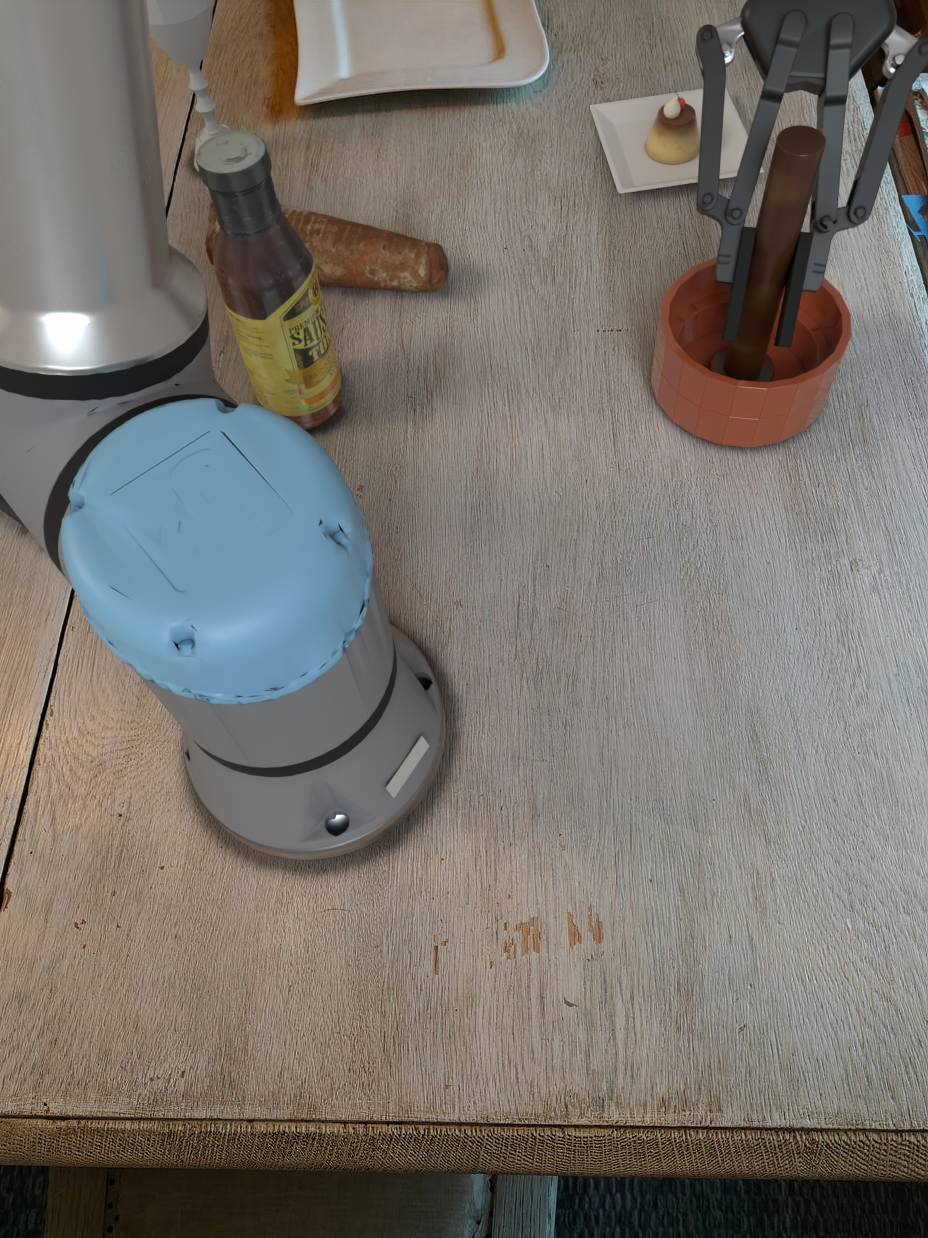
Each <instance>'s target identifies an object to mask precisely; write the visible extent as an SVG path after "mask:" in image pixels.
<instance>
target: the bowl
mask: <svg viewBox="0 0 928 1238" xmlns="http://www.w3.org/2000/svg"><path fill="white" fill-rule="evenodd" d="M716 261H717V257H716V256H715V257H713V258H710V259H708V260H706V261H703V262H701V263H698V264H695V265H693V266H691V267H690V268H688V269H687V270H686V271H684V272H683V273H682V274H681V275H680V276H679V277H677V278H676V279H675V280H673V282H672V283H670V286H669V287H668V290H667V291H666V292H665V294H664V296H663V298H662V300H661V302H660V308H659V316H658V322H657V328H656V335H655V342H654V349H653V356H652V362H651V372H650V384H651V387H652V391H653V394H654V397H655V400H656V402H657V404H658V405H659V407H660V408H661V409H662V410H663V412H664V413H665V414H666V415H667V416H668V418H669V419H670V420H671V421H672V422H673V423H675V424H676V425H678V426H679V427H681V428H682V429H684V430H685V431H687V432H688V433H690V434H691V435H692V436H694V437H697V438H700V439H703V440H707V441H709V442H712V443H715V444H718V445H721V446H729V447H730V446H731V447H741V448H754V447H761V446H766V445H767V446H768V445H773V444H774V445H775V444H779V443H782V442H784V441H786V440H788V439H790V438H792V437H794V436H796V435H798V434H800V433H803V432H804V431H805V430H806V429H807V428H808V427H809V426H810V425H811V424H812V423H813V422H814V421H815V420H816V419H818V417H819V416H820V415H821V413H822V411H823V409H824V407H825V404H826V403H827V400H828V397H829V395H830V393H831V390H832V388H833V385H834V382H835V380H836V378H837V374H838V372H839V370H840V367H841V364H842V362H843V359H844V357H845V354H846V352H847V349H848V347H849V343H850V341H851V340H852V339H851V338H852V315H851V312H850V309H849V308H848V305H847V303H846V301H845V299H844V298H843V295H842V294H841V292H840V291H839V290H838V289H837V287H835V286H834V285H833V284H832V283H831V282H830V281H829V280H828V279H827V278H826V277H824V280H823V283H822V285H821V287H820V288H819V290H818V291H817V292H805V291H802V295H801V300H800V305H799V310H798V315H797V320H796V325H795V330H794V335H793V340H792V345H791V347H777V346H774V342H775V337H776V332H777V327H778V322H779V316H780V311H781V306H782V301H783V296H784V293H783V296H782V300H781V303H780V307H779V310H778V314H777V317H776V321H775V324H774V328H773V331H772V335H771V338H770V342H769V345H768V349H767V352H766V354H767V355H768V356H769V357H770V358H771V360H772V361H773V364H774V368H775V372H774V376H773V380H772V382H758V381H745V380H737V379H734V378H730V377H727V376H724V375H721V374H718V373H715V372H712V371H710V370H709V368H710V363H711V360H712V358H713V356H714V355H715V354H716V353H717V352H718V351H719V350H721V349H722V348H725V347H727V346H728V343H729V341H722V340H721V339H722V333H723V327H724V322H725V316H726V311H727V305H728V299H729V294H730V288H731V284H725V283H716V279H715V275H714V273H715V267H716ZM784 291H785V289H784Z"/></svg>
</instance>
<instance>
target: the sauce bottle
mask: <svg viewBox="0 0 928 1238" xmlns="http://www.w3.org/2000/svg"><path fill="white" fill-rule="evenodd" d="M196 163H197V166H198V169H199V171H198V173H199V175H200V178H201V181H202V183H203V184H204V185H205V186H206V187H207V190H208V192H209V196H210V198H211V202H212V201H213V204H214V208H215V211H216V219H217V222H218V224H219V226H220V227H219V233H218V234H217V235H216V236H215V241H214V249H213V263H214V265H213V268H214V272H215V275H216V278H217V282H218V284H219V288H220V291H221V297H222V301H223V305H224V307H225V309H226V314H227V316H228V319H229V321H230V324H231V327H232V329H233V333H234V335H235V338H236V342H237V345H238V348H239V351H240V353H241V356H242V360H243V362H244V365H245V368H246V371H247V374H248V376H249V377H248V378H249V381H250V383H251V385H252V388H253V391H254V395H255V397H256V400H257V402H258V403H259V405H260V406H262V407H265V408H267V409H270V410H272V411H274V412H276V413H278V414H280V415H282V416H284V417H286V418H288V419H290V420H291V421H293V422H295V423H296V424H298V425H299V426H300V427H302V428H303V429H304V430H305V431H306V430H309V429H313V428H316V427H317V426H319V425H322V424H323V423H325V422H326V421H327V420H328V419H330V418H331V417H332V416H333V415H334V414H335V413H336V412H337V411H338V409H339V406H340V405H341V402H342V396H343V395H342V374H341V371H340V367H339V362H338V358H337V354H336V349H335V345H334V340H333V337H332V333H331V327H330V323H329V320H328V316H327V311H326V306H325V303H324V298H323V294H322V290H321V285H320V284H319V281H318V277H317V272H316V267H315V264H314V260H313V256H312V254H311V253H310V252H309V251H308V249H307V248H306V246H305V245H304V243H303V242H302V240H301V239H300V237H299V236H298V234H297V233H296V231H295V230H294V228H293V227H292V226H291V224H290V223H289V221H288V220H287V218H286V217H285V215H284V214H283V212H282V211H281V205H280V204H281V203H280V201H279V199H278V197H277V193H276V190H275V184H274V181H273V178H272V167H273V165H272V160H271V157H270V154H269V150H268V147H267V144H266V142H265V140H264V139H263V138H261V137H260V136H259V135H257V134H255V133H254V132H251V131H247V130H237V129H236V130H234V131H228V132H223V133H220V134H218V135H215V136H213V137H211V138H209V139H207V140H206V141H205V142H204V143H203V144H202V145H201V146H200V147H199V149H198V152H197V154H196Z"/></svg>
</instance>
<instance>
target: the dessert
mask: <svg viewBox="0 0 928 1238" xmlns="http://www.w3.org/2000/svg"><path fill="white" fill-rule="evenodd" d="M702 100H703V88H697V89H690V90H683V91H677V90H674V92H670V93H663V94H662V93H661V94H656V95H650V96H649V95H648V96H643V97H635V98H628V99H622V100H615V101H608V102H601V103H594V104H590V105H589V109H590V112H591V115H592V119H593V121H594V124H595V127H596V130H597V133H598V136H599V140H600V142H601V145H602V148H603V150H604V154H605V157H606V160H607V162H608V163H607V164H608V167H609V169H610V172H611V175H612V178H613V181H614V184H615V188H616V191H617V193H618V194H621V195H622V194H628V193H635V192H643V191H648V190H649V191H650V190H655V189H662V188H669V187H674V186H675V187H676V186H683V185H689V184H696V183H698V166H699V150H700V133H701V117H702ZM748 136H749V134H748V133H747V130H746V128H745V126H744V123H743V122H742V120H741V118H740V115H739V113H738V111H737V108H736V106H735V104H734V102H733V100H732V97H731V96H730V93H729V91H728V89H727V86H725V100H724V116H723V131H722V146H721V161H720V176H719V180H722V179H730V178H736V176H737V172H738V169H739V166H740V162H741V159H742V156H743V152H744V149H745V146H746V142H747V139H748ZM762 173H765V170H764V168H763V166H762V167H761V170H760V173H759V174H762Z"/></svg>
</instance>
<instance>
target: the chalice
mask: <svg viewBox="0 0 928 1238" xmlns="http://www.w3.org/2000/svg"><path fill="white" fill-rule="evenodd" d="M213 3H214V1H213V0H147V8H148V19H149V30H150V40H152V41H153V43H155V44H156V45H157V46H158V48H160V49H161V50H162V52H164V54H165V55H166V56H167V57H168V58H169V59H170V60H171V61H172V62H173V63H174V64H175V65H179V66H185V67H186V69H187V70H188V75H189V84H188V87H189V89H190V90H191V91H192V92H193V93H194V94H195V96H196V104H195V106H194V110H195V111H196V112H198V113H199V114H200V115H201V116H202V118H203V120H204V127H203V128H202V129H201V130H200V131H199V132H198V134H197V137H196V138H195V143H194V144H195V148H194V158H193V167H194V168H195V170H196V171H197V172H199V169H198V166H197V163H196V154H197V152H198V149H199V147H200V146H201V145H202V144H203V143H204V142H205V141H206V140H207V139H209V138H211V137H213V136H215V135H218V134H220V133H223V132H228V131H235V130H234V129H233V128H231V127H230V126H229V125H226V124H223V123H219V122H218V120H217V119H216V116H215V114H216V113H215V108H216V107H217V102H216V101H215V100H214V99H212V98H211V97H210V95H209V94H208V86H209V84H210V83H209V80H208V79H207V78H205V76H204V74H203V73H202V71H201V68H200V62H201V61H203V60H204V59H205V58H206V57H207V56H208V50H209V43H210V37H211V31H212V24H213Z"/></svg>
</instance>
